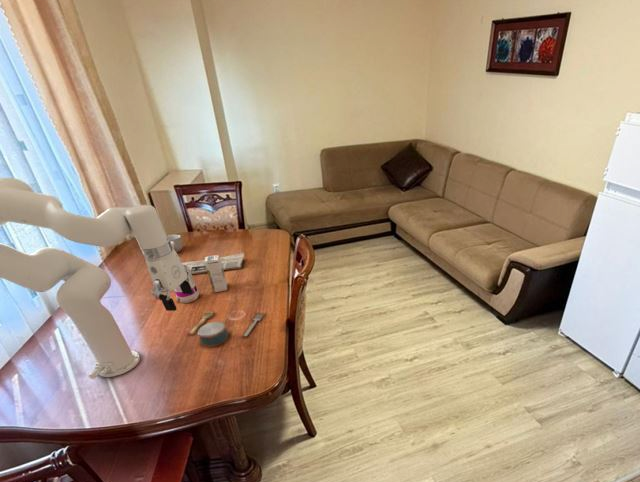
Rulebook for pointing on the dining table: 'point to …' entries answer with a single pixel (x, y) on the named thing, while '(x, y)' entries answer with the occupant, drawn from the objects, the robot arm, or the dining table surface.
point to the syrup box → (216, 273)
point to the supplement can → (187, 297)
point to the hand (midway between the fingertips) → (180, 301)
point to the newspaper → (226, 262)
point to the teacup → (175, 242)
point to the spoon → (202, 321)
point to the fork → (253, 324)
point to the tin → (213, 334)
